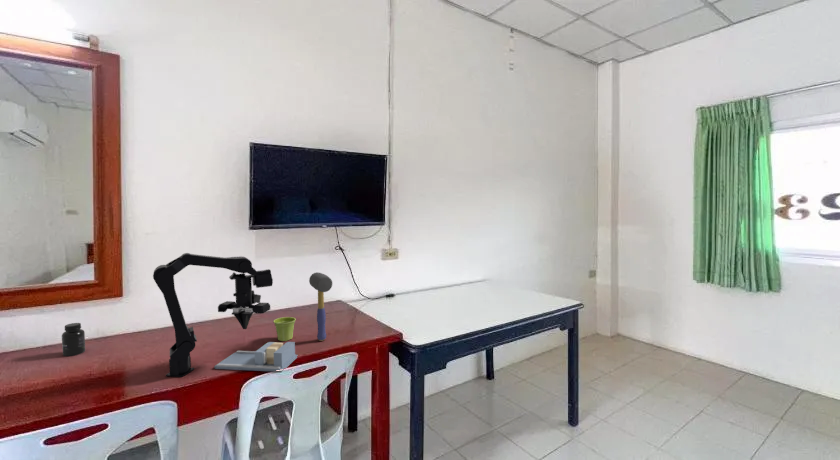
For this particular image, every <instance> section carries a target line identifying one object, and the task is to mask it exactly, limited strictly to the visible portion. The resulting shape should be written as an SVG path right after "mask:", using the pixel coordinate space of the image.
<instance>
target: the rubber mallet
mask: <svg viewBox="0 0 840 460" xmlns="http://www.w3.org/2000/svg"><path fill="white" fill-rule="evenodd" d="M308 279H309V280H308V281H309V285H310V286H311V287H312V288H314V290H316V291H317V312H316V323H317V335H316V339H317V340H318V341H320V342H322V341H326V338H327V333H326V332H327V331H326V321H327V318H326V315H327V314H326V308H325V295H324V293H327V292H328V291H330V290H331V289H332V287H333V280H332V278H331V277H329V275H326V274H324V273H322V272H314V273H312V274H311V275H310V277H309V278H308Z"/></svg>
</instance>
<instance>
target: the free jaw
mask: <svg viewBox="0 0 840 460" xmlns="http://www.w3.org/2000/svg"><path fill="white" fill-rule="evenodd" d="M274 342H275V341H268V342H267V343H265V344H264V345H262V346H261V347H260V348H258V349H257V350H254V351H255V365H264V364H265V363H267V349H266V348H268V347H269V346H270V345H272V344H273V343H274Z"/></svg>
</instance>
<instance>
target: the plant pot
mask: <svg viewBox="0 0 840 460" xmlns="http://www.w3.org/2000/svg"><path fill="white" fill-rule="evenodd" d="M296 320H297V319H296V318H295V317H291V316H285V317H284V316H283V317H278V318H276V319H274V320H273V323H274V326H275V330H276V335H277V341H281V342H286V341H287V342H289V340H292V339H293V336H294V335H293V334H294V328H295V327H294V326H295V322H296Z"/></svg>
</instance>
